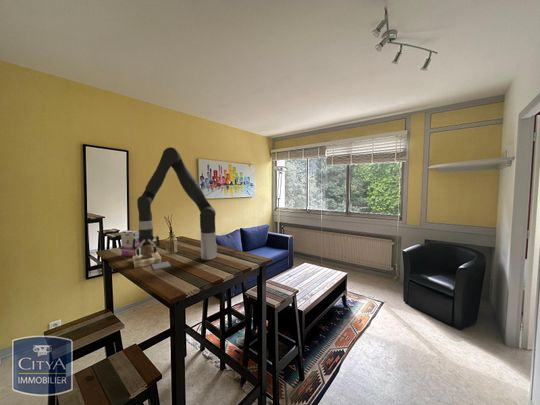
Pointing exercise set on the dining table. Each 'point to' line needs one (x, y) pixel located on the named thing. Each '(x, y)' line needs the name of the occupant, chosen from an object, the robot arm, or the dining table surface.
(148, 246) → the walnut block
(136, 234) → the candy bar box
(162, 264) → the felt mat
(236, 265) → the dining table surface
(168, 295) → the dining table surface
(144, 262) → the pocket frame
